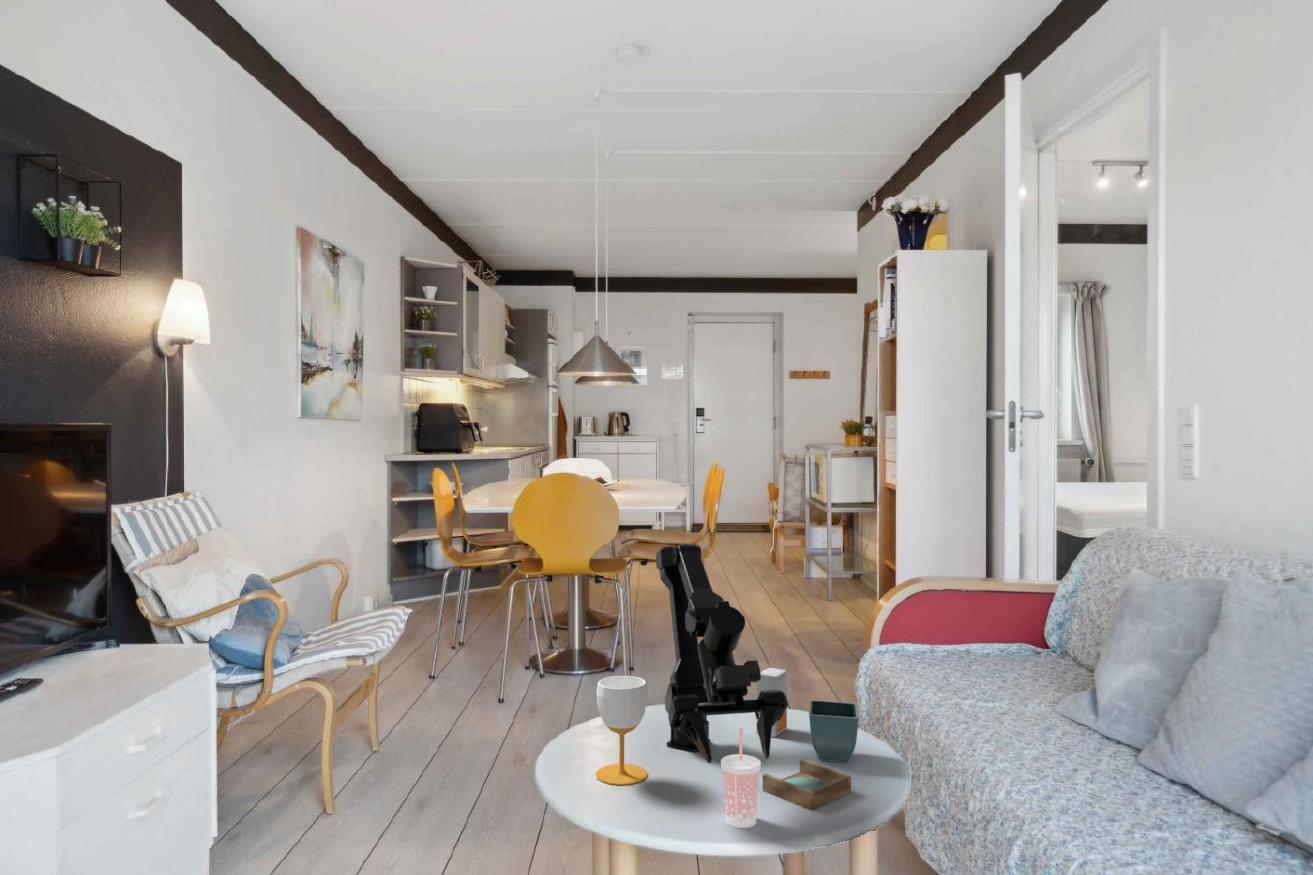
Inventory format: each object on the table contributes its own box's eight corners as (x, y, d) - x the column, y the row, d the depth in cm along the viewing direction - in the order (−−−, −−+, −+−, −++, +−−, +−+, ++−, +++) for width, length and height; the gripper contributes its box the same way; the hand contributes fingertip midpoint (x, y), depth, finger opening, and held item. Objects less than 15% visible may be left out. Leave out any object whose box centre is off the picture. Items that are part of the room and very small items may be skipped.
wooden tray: (762, 790, 135) (762, 774, 135) (802, 773, 142) (802, 758, 142) (811, 810, 127) (811, 793, 127) (851, 791, 134) (851, 776, 134)
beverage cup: (766, 816, 125) (766, 725, 125) (753, 833, 120) (753, 737, 120) (728, 809, 128) (728, 719, 128) (714, 825, 122) (714, 731, 122)
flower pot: (859, 768, 144) (859, 717, 145) (808, 764, 146) (808, 714, 146) (857, 750, 153) (857, 702, 153) (809, 747, 155) (809, 699, 155)
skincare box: (775, 738, 160) (775, 676, 160) (755, 734, 162) (756, 673, 162) (787, 729, 165) (787, 669, 165) (768, 725, 167) (768, 666, 167)
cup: (623, 761, 147) (623, 672, 148) (658, 775, 141) (659, 682, 141) (584, 774, 141) (585, 681, 141) (619, 790, 135) (620, 692, 135)
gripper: (672, 645, 128) (689, 739, 117) (784, 640, 132) (810, 730, 121) (661, 681, 136) (676, 773, 125) (767, 676, 140) (791, 764, 129)
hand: (739, 759), depth 125 cm, fingers open, 9 cm apart
